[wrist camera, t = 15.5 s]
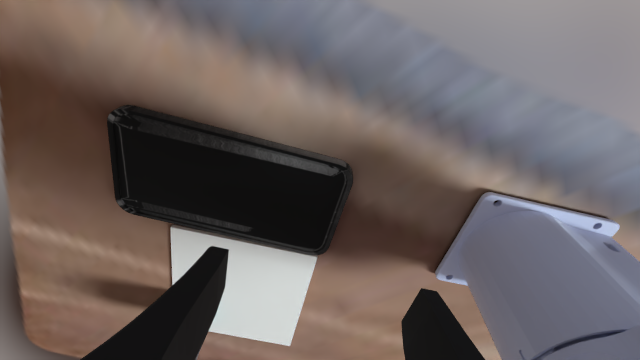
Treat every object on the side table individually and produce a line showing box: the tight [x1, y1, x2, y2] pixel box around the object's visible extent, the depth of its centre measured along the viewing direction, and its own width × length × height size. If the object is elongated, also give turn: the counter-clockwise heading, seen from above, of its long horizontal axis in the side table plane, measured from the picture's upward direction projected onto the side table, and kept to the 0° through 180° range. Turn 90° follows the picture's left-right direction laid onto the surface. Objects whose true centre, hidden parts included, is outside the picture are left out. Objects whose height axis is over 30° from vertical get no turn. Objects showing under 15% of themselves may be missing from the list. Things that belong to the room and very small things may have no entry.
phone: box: [107, 105, 353, 256], centre depth 20 cm, size 8×1×15 cm
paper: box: [170, 225, 318, 346], centre depth 26 cm, size 11×12×1 cm
